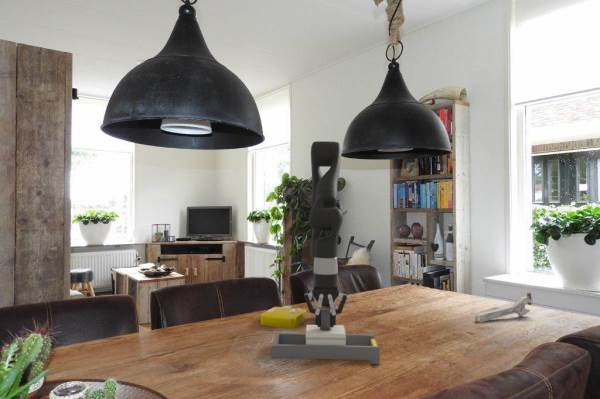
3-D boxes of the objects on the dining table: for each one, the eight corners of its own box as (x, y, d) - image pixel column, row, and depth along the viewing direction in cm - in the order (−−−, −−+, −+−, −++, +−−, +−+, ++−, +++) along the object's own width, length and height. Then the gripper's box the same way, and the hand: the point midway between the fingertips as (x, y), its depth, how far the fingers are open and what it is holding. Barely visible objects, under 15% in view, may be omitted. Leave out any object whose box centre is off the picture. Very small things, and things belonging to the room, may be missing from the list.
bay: (276, 348, 136) (276, 332, 136) (373, 349, 135) (373, 334, 135) (271, 362, 124) (272, 345, 124) (379, 364, 123) (379, 347, 123)
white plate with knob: (306, 346, 134) (306, 306, 134) (343, 346, 134) (344, 306, 134) (305, 356, 125) (305, 313, 125) (346, 357, 125) (346, 314, 125)
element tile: (274, 316, 177) (274, 305, 177) (307, 319, 172) (307, 308, 172) (258, 325, 163) (258, 313, 163) (294, 329, 158) (294, 317, 158)
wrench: (475, 328, 169) (530, 313, 179) (478, 329, 167) (533, 314, 178) (473, 309, 169) (528, 295, 179) (476, 310, 167) (532, 296, 177)
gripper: (347, 269, 133) (347, 323, 133) (303, 269, 134) (303, 322, 134) (349, 273, 126) (348, 330, 125) (302, 273, 126) (302, 329, 126)
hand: (325, 326), depth 130 cm, fingers closed on white plate with knob, 3 cm apart
